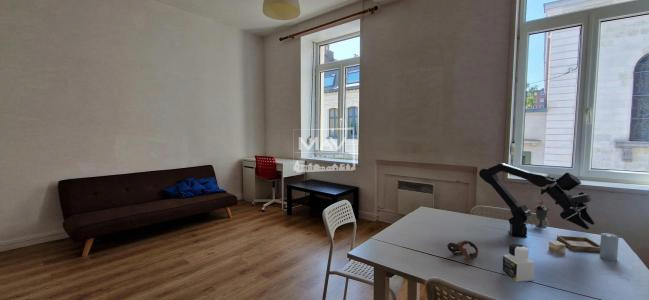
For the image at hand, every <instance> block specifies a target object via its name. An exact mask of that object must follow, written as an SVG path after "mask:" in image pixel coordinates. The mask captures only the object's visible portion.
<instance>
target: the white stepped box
mask: <svg viewBox="0 0 649 300" xmlns="http://www.w3.org/2000/svg"><path fill="white" fill-rule="evenodd" d="M529 252H530V250H529V248H528V247H527V246H526V245H524V244H520V243H510V244H509V245H508V254H503V255H502V273H503V274H505V275H506V276H507V277H509V278H510V279H511V280H513V281H514V282H517V283H518V282H519V283H520V282H532V281H534V280H535V262H534V261H533V260H531V259H530V258H529Z"/></svg>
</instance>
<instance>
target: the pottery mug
mask: <svg viewBox="0 0 649 300" xmlns="http://www.w3.org/2000/svg"><path fill="white" fill-rule="evenodd" d="M467 244H468V245H469V246H470V247H472V248H474V250H475V252H470V253H469V254H468V251H467V248H465V247H464V246H465V245H467ZM446 248H447V249H448V251H449V252H451V254H452V255H454V256H455V255H456V253H457V252H456V251H460V252H459V253H461V254H463V256H465V257H464V258H463V261H464V260H465V261H468V262H470V261H473V260H475V259H477V258H478V256H479V255H478V252H479V248H478V246H477V245H476V244H475V243H474V242H472V241H470V240H469V241H468V240H462V241H459V242H456V243H455V242H448V243H447V245H446ZM455 252H456V253H455ZM465 261H464V262H465Z"/></svg>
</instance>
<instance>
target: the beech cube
mask: <svg viewBox="0 0 649 300" xmlns="http://www.w3.org/2000/svg"><path fill="white" fill-rule="evenodd" d="M566 247H567V246H566V245H565V244H563V243H561V242H560V241H558V240H555V241H554V240H549V241H548V250H549V251H551V252H552V253H554V254H557V255H558V254H563V255H564V254H566Z"/></svg>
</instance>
